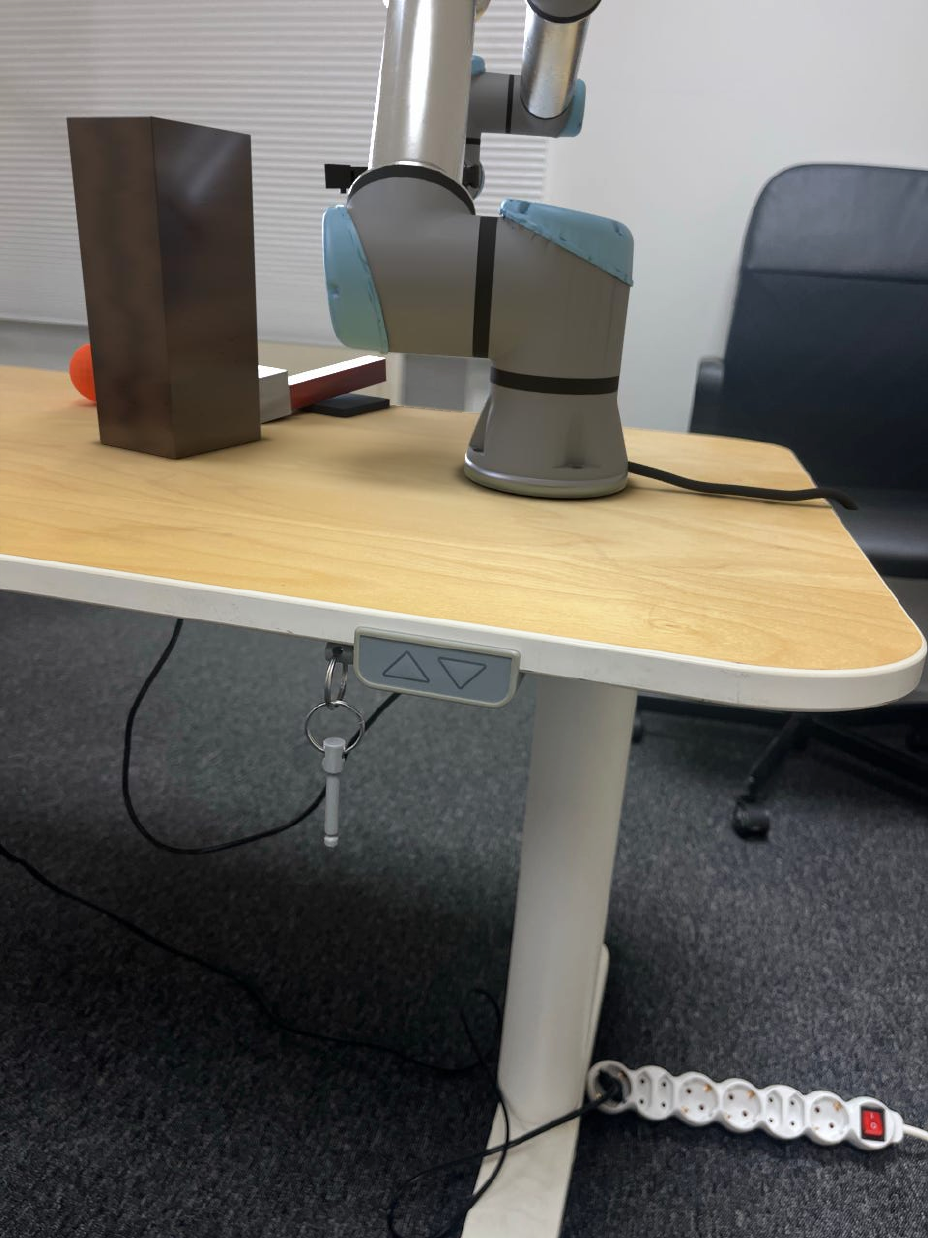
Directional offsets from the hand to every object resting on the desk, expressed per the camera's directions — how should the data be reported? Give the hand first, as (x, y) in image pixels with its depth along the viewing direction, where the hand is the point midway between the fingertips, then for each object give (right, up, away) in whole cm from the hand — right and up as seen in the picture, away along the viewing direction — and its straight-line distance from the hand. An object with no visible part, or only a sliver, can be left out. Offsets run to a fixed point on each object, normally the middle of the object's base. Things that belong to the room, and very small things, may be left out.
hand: (380, 175), depth 106 cm
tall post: (-18, -35, -16) cm, 43 cm away
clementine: (-32, -27, 0) cm, 42 cm away
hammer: (-8, -26, +4) cm, 27 cm away
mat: (-10, -25, +8) cm, 28 cm away
